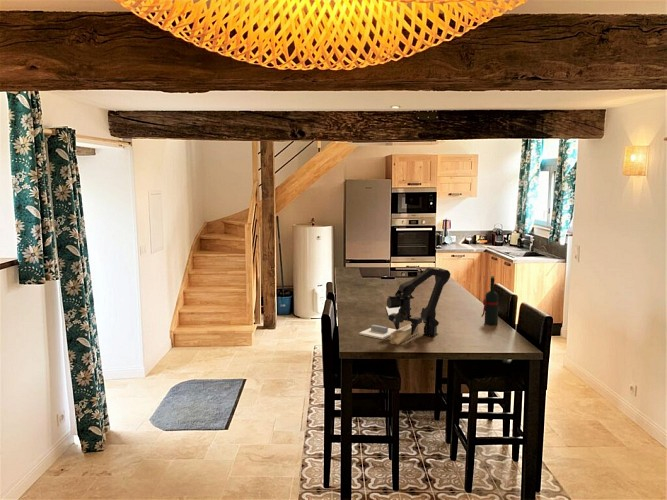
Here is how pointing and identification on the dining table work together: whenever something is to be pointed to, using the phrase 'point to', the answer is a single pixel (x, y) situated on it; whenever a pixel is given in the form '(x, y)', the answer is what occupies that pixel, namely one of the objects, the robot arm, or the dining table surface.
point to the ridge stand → (378, 332)
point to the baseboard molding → (392, 310)
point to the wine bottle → (491, 305)
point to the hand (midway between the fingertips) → (404, 333)
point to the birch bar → (402, 334)
